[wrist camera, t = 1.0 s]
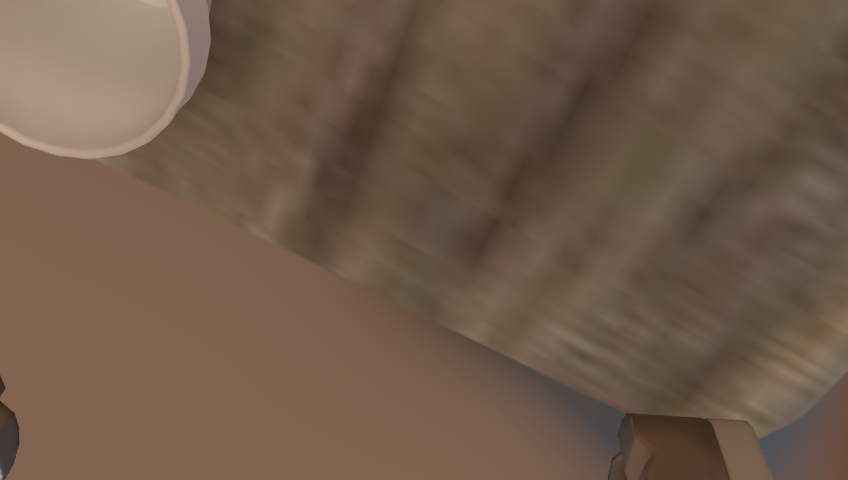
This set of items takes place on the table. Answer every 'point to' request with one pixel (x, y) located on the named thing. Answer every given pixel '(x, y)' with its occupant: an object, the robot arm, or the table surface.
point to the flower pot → (98, 71)
